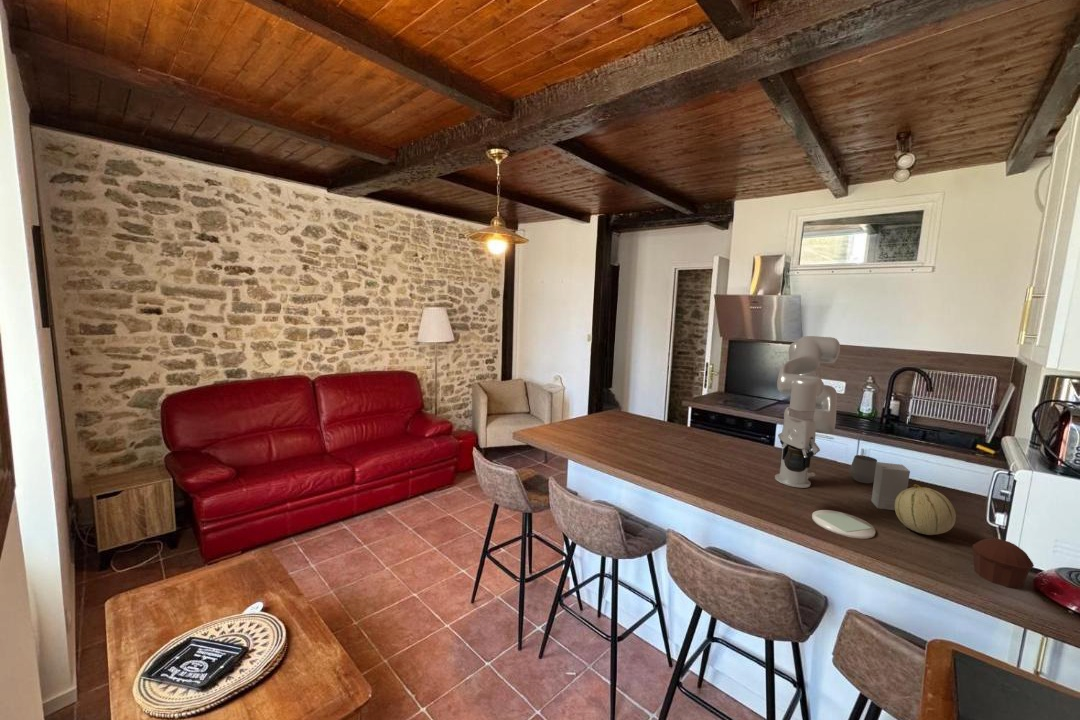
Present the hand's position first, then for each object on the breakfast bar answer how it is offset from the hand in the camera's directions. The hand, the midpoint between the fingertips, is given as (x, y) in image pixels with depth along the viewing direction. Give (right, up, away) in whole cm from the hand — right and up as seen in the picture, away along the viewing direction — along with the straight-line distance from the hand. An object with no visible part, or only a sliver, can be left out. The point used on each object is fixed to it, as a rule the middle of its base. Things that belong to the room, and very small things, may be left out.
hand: (795, 463), depth 152 cm
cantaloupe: (+33, -20, -12) cm, 40 cm away
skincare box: (+36, -18, +5) cm, 41 cm away
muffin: (+33, -22, -36) cm, 54 cm away
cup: (+46, -15, +30) cm, 57 cm away
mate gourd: (0, -3, +1) cm, 3 cm away
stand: (+10, -18, -10) cm, 23 cm away
